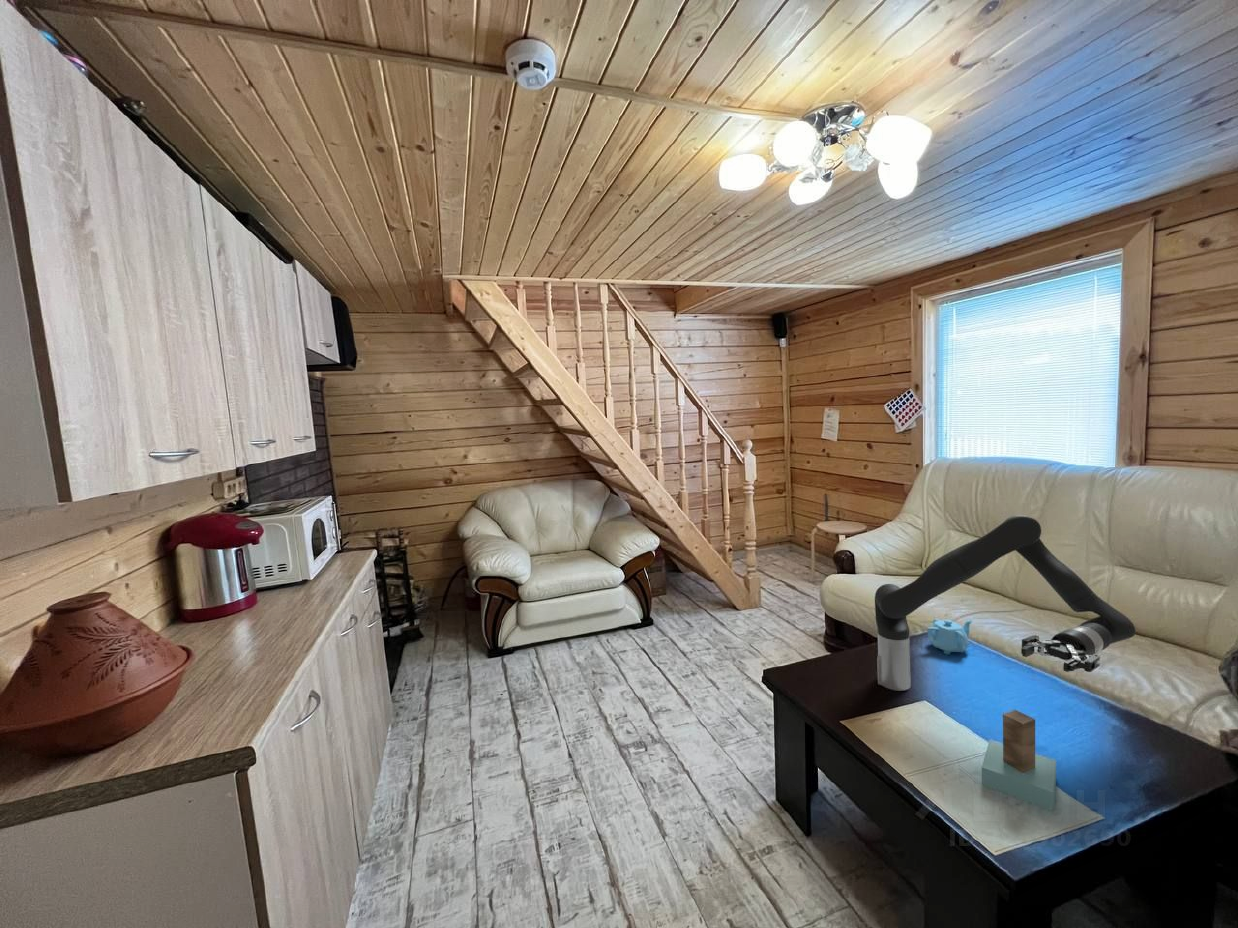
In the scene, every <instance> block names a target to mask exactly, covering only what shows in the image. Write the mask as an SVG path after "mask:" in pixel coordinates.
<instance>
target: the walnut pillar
mask: <svg viewBox="0 0 1238 928" xmlns="http://www.w3.org/2000/svg"><path fill="white" fill-rule="evenodd" d="M1002 743H1003V761H1004V762H1005V763H1007V764H1009V765H1011V766H1012V767H1014V768H1016V769H1018V770H1019V771H1021V772H1025V771H1028V770H1030V769H1032V768H1035V754H1036V718H1034V717H1031V716H1029V715H1027V714H1026V713H1023V712H1021V711H1018V710H1016V709H1013V710H1011V711H1008V712H1005V713H1002Z"/></svg>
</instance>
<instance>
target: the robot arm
mask: <svg viewBox="0 0 1238 928" xmlns="http://www.w3.org/2000/svg"><path fill="white" fill-rule="evenodd" d="M1041 535H1042V526H1041V524H1040V522H1039V521H1038V520H1037V519H1036V518H1034V517H1032V516H1029V515H1024V514H1023V515H1022V514H1016V515H1013V516H1009V517H1008V518H1006V519H1005V520H1004V521H1003V522H1002V523H1000V524H999V525H998V526H996V527H995V528H994V529H992V530H991V531H989V532H988V533H986V534H984V535H982V536H981V537H979V538H977V539H975V540H973V541H971V542H968V543H965V544H963V545H961V546H958V547H957V548H955V549H953V550H951V551H948V552H947V553H945V554H943V555H942V556H940V557H938V558H937V559H935V560H934V561H932V563H930V564H929V565H928V567H926V569H924V571H923V572H922V573H921V574H920V575H919V577H917V578H916V579H915V580H913V581H912V582H910V583H908V584H907V585H904V586H903V587H899V586H898V585H896V584H894V583H886V584H882V585H880V586H879V587H878V588H877V589H876V591H875V593H874V612H875V622H876V627H877V628H876V629H877V651H878V652H877V658H876V659H877V660H876V663H877V684H878V685H880V686H882V687H883V688H886V689H888V690H892V691H898V692H901V691H907V690H909V689H910V688H911V686H912V685H911V650H910V628H909V624H908V619H907V616H908V615H910V614H912V613H913V612H915V611H916V610H918V609H919V608H921V606H923V605H925V604H926V603H928V602H929V601H930V600H932V599H934V598H936V597H938V596H940V595H942V594H943V593H945V592H947V591H949V590H950V589H953V588H955V587H956V586H959V585H960V584H962V583H964V582H966V581H968V580H969V579H971V578H973V577H975V576H977V575H978V574H979V573H980V572H982V571H984V570H985V569H987V568H988V567H989V566H991V565H992V564H994V562H996V561H997V560H999V559H1000V558H1003V557H1004V556H1006V555H1008V554H1010V553H1013V552H1015V551H1016V552H1017V553H1018V554H1019V555H1020V556H1022V557H1023V558H1024V559H1025V560H1026V561H1027V563H1029V564H1030V565H1031V566H1032V567H1033V568H1034V569H1035V570H1036V571H1037V572H1038V574H1040V575H1041V576H1042V578H1044V580H1046V582H1047V583H1048V584H1049V585H1050V587H1051V588H1052V589H1053V590H1054V591H1055V592H1056V593H1057V595H1058V596H1059V597H1060V598H1061V599H1062V600H1063V601H1064V602H1065V603H1066V604H1067V606H1068V607H1069V608H1070V609H1071V610H1072V611H1074V612H1076V613H1086V612H1090V613H1091V612H1092V613H1094V614H1096V615H1097V616H1096V617H1094V618H1091V619H1088V620H1085V621H1084V622H1082V623H1081V624H1079V625H1076V626H1073V627H1070V628H1068V629H1065V630H1063V631H1061V632H1059V633H1057V634H1055V635H1054V636H1053V637H1052V638H1051V639H1049V640H1042V639H1040V636H1039V635H1035V634H1033V635H1031V636H1030V635H1029V636H1028V637H1025V638H1023V639H1021V649H1020V650H1021V651H1020V653H1021V656H1022V657H1023V658H1024V657H1025V658H1027V657H1028V658H1029V656H1032V655H1034V654H1036V655H1037V654H1038V655H1040V656H1042V657H1043V656H1044V657H1045V656H1046V657H1054V658H1058V659H1060V660H1062V661H1063V660H1064V662H1063V667H1062V669H1063V671H1064V672H1067V673H1069V672H1074V671H1076V670H1081V669H1083V670H1084V672H1086V673H1087V672H1088V673H1091V672H1093V671H1094V670H1096V669H1097V668H1099V667H1100V663H1101V656H1100V655H1099V653H1100V652H1101V651H1103V650H1105V649H1107V648H1108V647H1109V646H1111V645H1113V644H1115V643H1118V642H1122V641H1125V640H1128V639H1131V638H1133V637H1134V636H1135V635H1136V627H1135V625H1134V623H1133V621H1132V620H1131V619H1130V618H1129V617H1128V616H1126V615H1125V614H1123V613H1122V612H1121V611H1119V610H1118V609H1116V608H1115V607H1113V606H1111V604H1109V603H1107V602H1106V601H1104V600H1103V599H1102V598H1100V597H1099V596H1098V595H1097V593H1095V592H1094V591H1093V590H1092V589H1091V588H1090V587H1089V585H1088V584H1086V582H1085V580H1083V579H1082V578H1081V577H1080V576H1079V575H1078V574H1076V573H1075V571H1073V570H1072V569H1071V568H1070V567H1068V566H1067V565H1066V564H1065V563H1064V562H1062V561H1061V560H1059V559H1058V558H1057V557H1056V556H1055V555H1054V554H1053V553H1052V552H1051V551H1050V550H1049V548H1047V546H1046V545H1045V544H1044V543H1043V541H1042V540H1041V539H1040V538H1041ZM1035 648H1037V649H1035Z"/></svg>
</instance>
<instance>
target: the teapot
mask: <svg viewBox="0 0 1238 928" xmlns="http://www.w3.org/2000/svg"><path fill="white" fill-rule="evenodd" d="M973 621H974V619H968V620H966V621H965V623H964V625H963V626H961V625H960V624H959V623H957V622H955V621H953V620H950V619H943V620H941V619H937V618H936V619H934V620H933V621H932V625H931V626H929V627H927V628H926V633H927V634H928V639H929V641H930V642H931V644H932V645H933V647H934V648H937V649H940V650H942V651H943V654H944V655H951V653H962V654H964V653H965V651H967V650H968V648H969V647H970V642H969V638H968V637H969V636H970V626H971V623H972V622H973Z"/></svg>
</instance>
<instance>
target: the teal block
mask: <svg viewBox="0 0 1238 928" xmlns="http://www.w3.org/2000/svg"><path fill="white" fill-rule="evenodd" d="M1056 782H1057V759H1053V758H1050V757H1047V756H1044V755H1040V754H1038V753H1035V768H1032V769H1030V770H1028V771H1025V772H1021V771H1019V770H1018V769H1016V768H1014V767H1012V766H1011V765H1009V764H1007V763H1005V762H1004V761H1003V742H999V741H996V740H993V739H989V741H988V744H987V747H986V751H985V754H984V758H983V761H982V765H981V785H982V786H983V787H987V788H990V789H993V790H995V791H998V792H999V793H1003V794H1006V795H1008V796H1010V797H1013V798H1017V799H1018V800H1019V799H1020V800H1022V801H1024V802H1027V803H1030V804H1033V805H1034V806H1038V807H1040V808H1044V809H1046V810H1049V811H1051V812H1054V806H1055V794H1056V784H1057V783H1056Z"/></svg>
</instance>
